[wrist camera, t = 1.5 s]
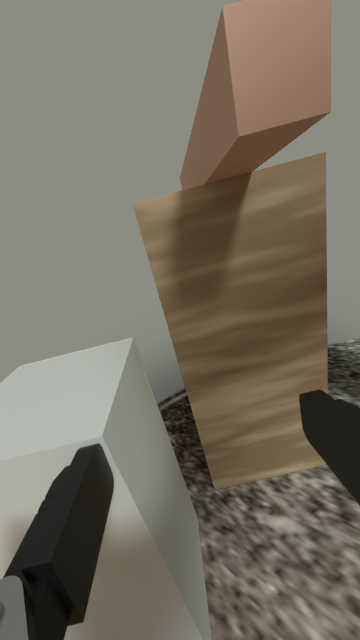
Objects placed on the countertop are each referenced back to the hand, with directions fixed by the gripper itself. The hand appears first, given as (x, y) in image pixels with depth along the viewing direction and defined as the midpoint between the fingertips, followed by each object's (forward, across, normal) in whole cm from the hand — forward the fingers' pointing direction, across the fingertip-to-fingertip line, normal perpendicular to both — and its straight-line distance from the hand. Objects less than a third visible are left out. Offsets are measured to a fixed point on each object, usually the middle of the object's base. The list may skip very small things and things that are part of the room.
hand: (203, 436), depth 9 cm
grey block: (+7, +8, +21) cm, 24 cm away
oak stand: (+20, -7, +20) cm, 29 cm away
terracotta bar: (+13, -6, -12) cm, 19 cm away
